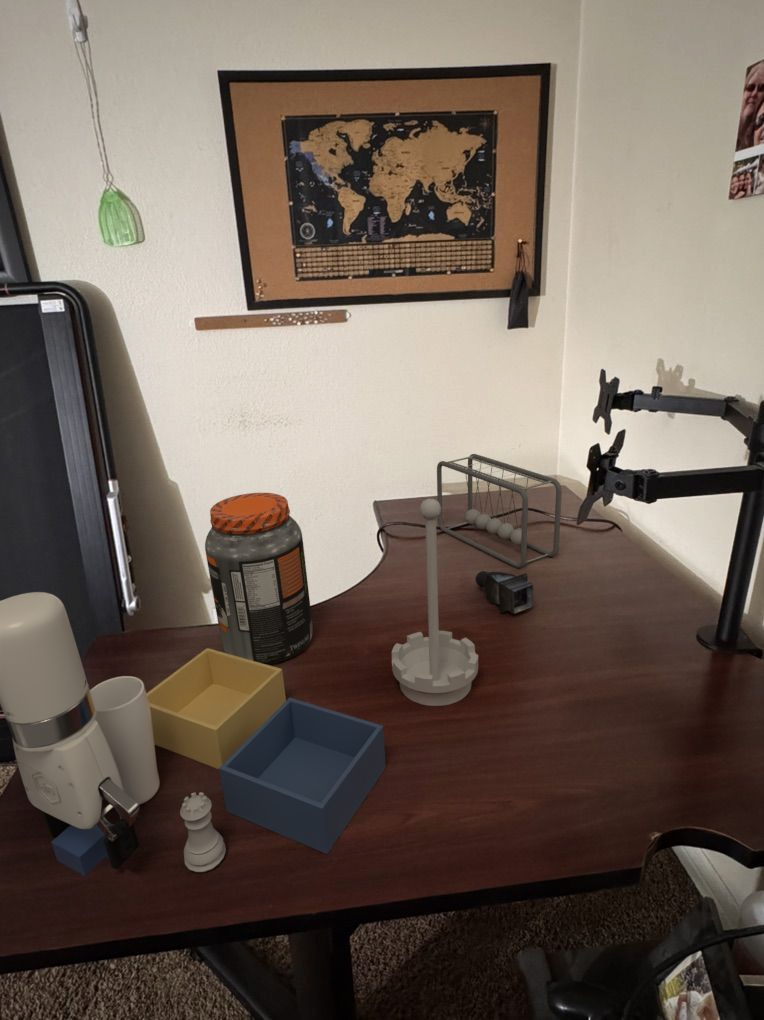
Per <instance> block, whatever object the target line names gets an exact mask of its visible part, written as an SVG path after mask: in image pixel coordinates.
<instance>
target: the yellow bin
mask: <svg viewBox="0 0 764 1020" xmlns="http://www.w3.org/2000/svg"><path fill="white" fill-rule="evenodd" d="M146 693H147V697H148V701H149V706H150V711H151V718H152V727H153V736H154V745H155V746H157V747H160V748H163V749H165V750H167V751H170V752H173V753H175V754H177V755H181V756H183V757H185V758H188V759H191V760H194V761H196V762H199V763H201V764H204V765H207V766H208V767H211V768H213V769H217V770H219V768H220V767H221V766H222V765H223V764H224V763H225V762H226V761H227V760H228V759H229V758H230V757H231V756H232V755H233V754H234V753H235V752H236V751H237V750H238V749H239V748H240V747H241V746H242V745H243V744H244V743H245V742H246V741H247V740H248V739H249V738H250V737H251V736H252V735H253V734H254V733H255V732H256V731H257V730H258V729H259V728H260V727H261V726H262V725H263V724H264V723H265V722H266V721H267V720H268V719H269V718H270V717H271V716H272V715H273V714H274V713H275V712H276V711H277V710H278V709H279V708H280V707H281V706H282V705H283V704H284V703H285V702H286V701H287V698H286V697H287V695H286V689H285V681H284V674H283V669H282V668H281V667H280V668H279V667H277V666H272V665H270V664H267V665H266V664H262V663H259V662H255V661H252V660H248V659H245V658H241V657H237V656H234V655H230V654H227V653H226V652H223V651H220V650H217V649H213V648H209V647H206V649H204V650H203V651H201V652H200V653H199V654H197V655H195V656H194V657H193V658H192V659H191V660H189V661H187V662H186V663H185V664H184V665H182V666H181V667H180V668H179V669H177V670H176V671H175V672H173V673H171V674H170V675H169V676H168V677H166V678H165V679H164V680H162V681H161V682H160V683H158V684H157V685H155V686H154V687H153V688H152V689H150V690H149V691H148V692H146Z"/></svg>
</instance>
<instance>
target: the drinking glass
mask: <svg viewBox="0 0 764 1020" xmlns="http://www.w3.org/2000/svg"><path fill="white" fill-rule="evenodd" d="M90 692H91V696H92V699H93V702H94V706H95V708H96V718H95V720H96V721H97V722H98V724H99V726H100V728H101V730H102V732H103V734H104V736H105V739H106V741H107V743H108V745H109V748H110V750H111V753H112V755H113V758H114V760H115V763H116V766H117V768H118V772H119V775H120V778H121V781H122V786H123V791H124V792H125V793H126V794H127V795H129V796H130V797H131V798H132V799H133V800H134V801H136V802H137V803H138V805H139V806H141V805H143V804H145V803H147V802H148V801H150V800H151V799H152V798H154V796H155V795H156V794H157V793H158V791H159V789H160V785H161V784H160V783H161V782H160V781H161V780H160V775H159V772H158V763H157V755H156V754H157V753H156V745H155V744H154V736H153V727H152V718H151V711H150V706H149V701H148V697H147V693H148V692H147V690H146V687H145V683H144V682H143V680H142V679H141V678H139V677H136V676H131V675H122V676H116V677H112V678H109V679H106V680H103V681H102V682H100V683H98V684H96V685H95V686H94V687H92V688H91V689H90Z"/></svg>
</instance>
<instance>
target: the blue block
mask: <svg viewBox="0 0 764 1020" xmlns="http://www.w3.org/2000/svg"><path fill="white" fill-rule="evenodd" d="M108 822H109V823H110V825H111V826H112V827H113V826H114V825H115V823H112V822H110V821H108ZM105 838H106V835H105V834H104V833H103V832H102V830H101V829H100V828H99V827H98V825H97V824H95V825H94V827H93V828H91V829H80V828H77V827H75V826H72V825H70V826H69V827H68V828H67V829H66V830H65V831H63V832H62V833H61V834H60V835H59V836H58V837H56V838H54V839H53V840H52V841H51V845H52V849H53V852H54V855H55V859H56V861H57V862H58V863H60V864H62V865H64V866H66V867H68V868H70V869H71V870H73V871H75V872H77V873H78V874H80V875H82V876H84V877H86V876H88V874H89V873H90V872H91V871H92V870H94V868H95V867H96V866H98V864H100V863H101V862H102V861H103V860H104V859H107V860H108V861H110V859H109V856H108V853H107V850H106V847H105V844H104V841H103V840H104V839H105Z"/></svg>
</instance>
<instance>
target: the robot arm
mask: <svg viewBox="0 0 764 1020" xmlns="http://www.w3.org/2000/svg"><path fill="white" fill-rule="evenodd" d="M83 666H84V665H83V662H82V660H81V656H80V653H79V649H78V646H77V643H76V639H75V635H74V633H73V629H72V626H71V623H70V619H69V616H68V613H67V610H66V607H65V605H64V603H63V601H62V600H61V599H60V598H59V597H57V596H56V595H54V594H52V593H49V592H44V591H43V592H42V591H35V592H34V591H32V592H25V593H21V594H17V595H13V596H10V597H7V598H5V599H2V600H0V707H1V710H2V712H3V714H4V718H5V721H6V723H7V726H8V729H9V732H10V734H11V737H12V746H13V750H14V755H15V756H14V757H15V760H16V764H17V767H18V770H19V774H20V778H21V781H22V784H23V787H24V790H25V793H26V797H27V799H28V801H29V802H30V803H31V805H32V806H34V807H35V808H36V809H38V810H40V811H41V813H42V815H43V819H44V821H45V824H46V827H47V829H48V832H49V835H50V836H51V837H52V838H54V839H55V838H56V837H58V836H59V835H60V834H61V833H62V832H63V831H65V830H66V829H67V828H68V827H69V826H70V825H72V826H75V827H77V828H80V829H91V828H93V827H94V825H95V824H97V825H98V827H99V828H100V829H101V830H102V832H103V833H104V834H105V835H106V838H105V839H104V840H103V841H104V844H105V847H106V850H107V853H108V856H109V859H110V860H109V862H110V865H111V868H113V869H115V870H118V869H120V868H121V867H122V866H123V865H124V864H125V862H126V861H127V860H128V859H130V858H131V856H133V854H134V853H135V852H136V851H137V850H138V849H139V847H140V842H139V838H138V835H137V831H136V828H135V825H134V823H135V822H136V821H138V820H139V811H140V808H141V807H140V805H138V803H137V802H136V801H134V800H133V799H132V798H131V797H130V796H129V795H127V794H126V793H125V792H124V791H123V786H122V781H121V778H120V775H119V772H118V768H117V766H116V763H115V760H114V758H113V755H112V753H111V750H110V748H109V745H108V743H107V741H106V739H105V736H104V734H103V732H102V730H101V728H100V726H99V724H98V722H97V721H96V720H95V718H96V708H95V706H94V702H93V699H92V696H91V692H90V690H91V689H90V686H89V683H88V680H87V676H86V673H85V669H84V667H83ZM103 800H105V801H106V802H107V804H106V805H105V806H104V807H103ZM113 809H114V810H115V812H117V814H118V815H119V820H118V821H116V822H115V823H114V826H113V827H112V826H111V825H110V823H111V822H110V821H108V820H107V818H106V817H105V816H106V815H107V814H108V813H109V812H111V811H112V810H113ZM109 822H110V823H109Z"/></svg>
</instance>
